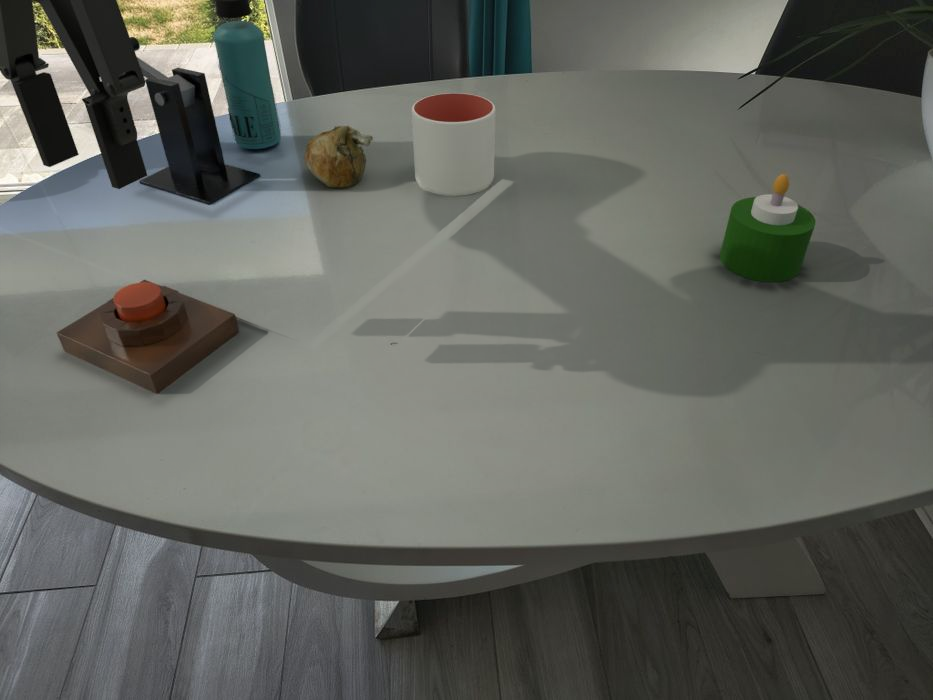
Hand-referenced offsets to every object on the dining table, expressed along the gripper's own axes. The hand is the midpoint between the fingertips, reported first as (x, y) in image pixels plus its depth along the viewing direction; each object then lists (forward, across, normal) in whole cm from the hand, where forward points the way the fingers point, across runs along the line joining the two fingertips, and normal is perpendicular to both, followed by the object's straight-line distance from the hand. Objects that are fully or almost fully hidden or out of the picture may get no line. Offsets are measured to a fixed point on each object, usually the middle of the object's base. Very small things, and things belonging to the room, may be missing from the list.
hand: (94, 169), depth 57 cm
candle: (+17, +46, +42) cm, 65 cm away
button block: (+17, 0, 0) cm, 17 cm away
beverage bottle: (+17, -21, +38) cm, 47 cm away
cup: (+17, +8, +42) cm, 46 cm away
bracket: (+17, -20, +26) cm, 37 cm away
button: (+13, 0, 0) cm, 13 cm away
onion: (+17, -5, +35) cm, 39 cm away
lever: (+5, -25, +26) cm, 36 cm away
